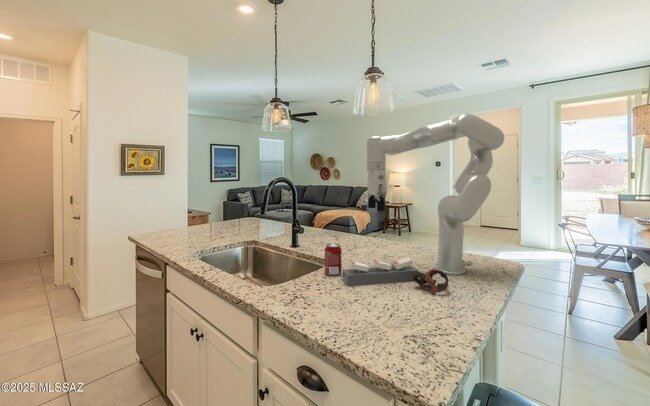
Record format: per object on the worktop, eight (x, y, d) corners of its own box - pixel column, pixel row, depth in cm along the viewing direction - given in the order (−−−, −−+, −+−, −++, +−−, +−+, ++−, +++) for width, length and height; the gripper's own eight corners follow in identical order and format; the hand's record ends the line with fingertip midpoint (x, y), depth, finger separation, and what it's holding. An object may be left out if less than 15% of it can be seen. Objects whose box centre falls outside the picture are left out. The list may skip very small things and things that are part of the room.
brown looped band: (442, 285, 111) (450, 270, 106) (442, 306, 104) (451, 291, 99) (409, 275, 113) (416, 260, 108) (408, 295, 106) (415, 279, 101)
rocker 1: (364, 268, 116) (365, 263, 116) (367, 271, 112) (369, 266, 112) (347, 265, 115) (348, 260, 115) (350, 268, 111) (351, 263, 111)
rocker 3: (408, 261, 120) (407, 256, 119) (413, 264, 116) (412, 259, 115) (392, 266, 118) (391, 262, 118) (396, 269, 114) (395, 265, 114)
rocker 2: (386, 267, 118) (387, 262, 118) (390, 270, 114) (391, 265, 114) (369, 263, 116) (371, 258, 116) (373, 266, 112) (374, 261, 112)
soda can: (340, 276, 119) (340, 247, 118) (323, 275, 121) (323, 246, 120) (342, 271, 126) (342, 243, 125) (326, 270, 127) (326, 242, 126)
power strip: (424, 273, 123) (425, 262, 123) (434, 279, 116) (434, 267, 116) (342, 279, 116) (342, 267, 116) (347, 286, 110) (347, 273, 109)
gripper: (394, 166, 114) (393, 211, 116) (376, 167, 131) (376, 206, 133) (375, 167, 113) (375, 212, 115) (360, 168, 130) (360, 207, 131)
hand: (376, 209), depth 124 cm, fingers open, 9 cm apart
